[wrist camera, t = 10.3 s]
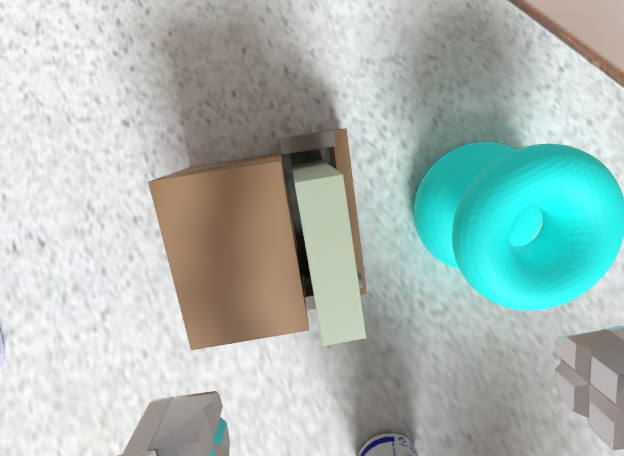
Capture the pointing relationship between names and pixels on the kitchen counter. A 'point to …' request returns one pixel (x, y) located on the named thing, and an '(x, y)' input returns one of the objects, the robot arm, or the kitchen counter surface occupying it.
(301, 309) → the cabinet
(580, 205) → the donuts
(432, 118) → the kitchen counter surface
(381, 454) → the beverage can
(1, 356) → the soap bottle
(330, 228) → the pale green flat block
